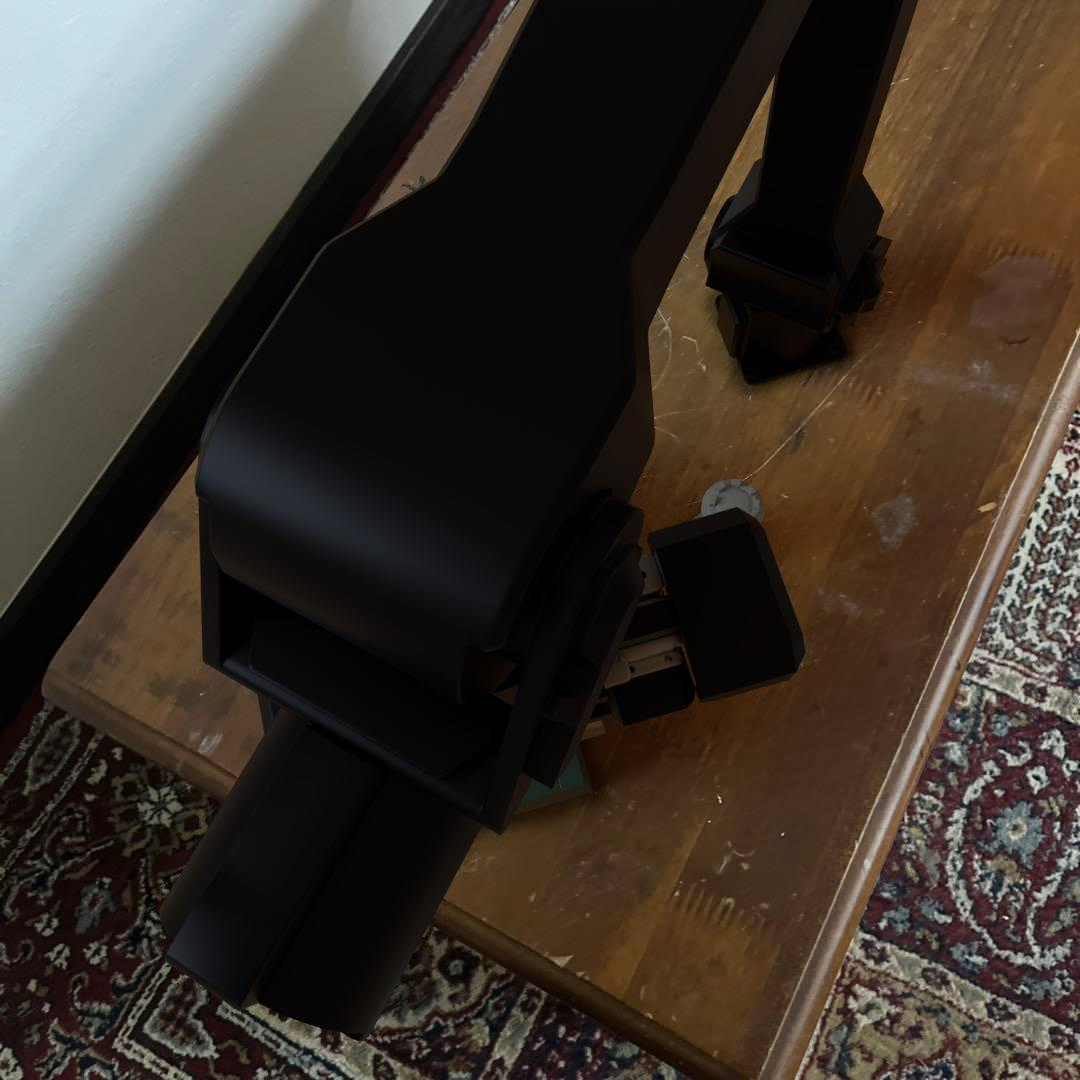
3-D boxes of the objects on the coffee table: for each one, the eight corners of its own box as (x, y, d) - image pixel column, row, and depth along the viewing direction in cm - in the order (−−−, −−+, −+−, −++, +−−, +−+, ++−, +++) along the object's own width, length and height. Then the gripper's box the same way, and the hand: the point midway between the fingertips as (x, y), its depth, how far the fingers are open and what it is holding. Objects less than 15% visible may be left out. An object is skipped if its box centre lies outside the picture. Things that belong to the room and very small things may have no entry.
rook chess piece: (768, 523, 57) (789, 474, 49) (748, 593, 55) (766, 554, 48) (695, 502, 57) (704, 451, 50) (673, 571, 56) (679, 529, 49)
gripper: (721, 288, 29) (694, 470, 44) (145, 459, 30) (310, 583, 45) (852, 628, 26) (776, 702, 41) (200, 817, 26) (359, 823, 41)
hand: (548, 693), depth 42 cm, fingers closed on maple peg, 4 cm apart
